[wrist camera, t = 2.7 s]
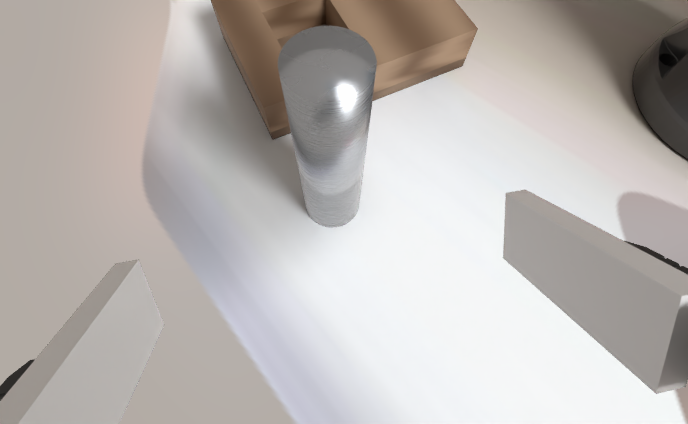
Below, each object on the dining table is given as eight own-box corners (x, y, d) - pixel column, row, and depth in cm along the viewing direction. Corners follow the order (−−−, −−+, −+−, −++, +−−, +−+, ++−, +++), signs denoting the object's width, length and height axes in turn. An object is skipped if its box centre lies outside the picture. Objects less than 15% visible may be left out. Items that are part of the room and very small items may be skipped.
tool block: (397, -19, 37) (403, -62, 34) (462, 66, 33) (477, 28, 30) (223, 38, 34) (210, -2, 30) (272, 139, 30) (263, 107, 26)
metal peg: (344, 170, 29) (350, 14, 16) (368, 213, 28) (394, 80, 15) (297, 190, 28) (263, 43, 15) (319, 235, 27) (301, 116, 14)
